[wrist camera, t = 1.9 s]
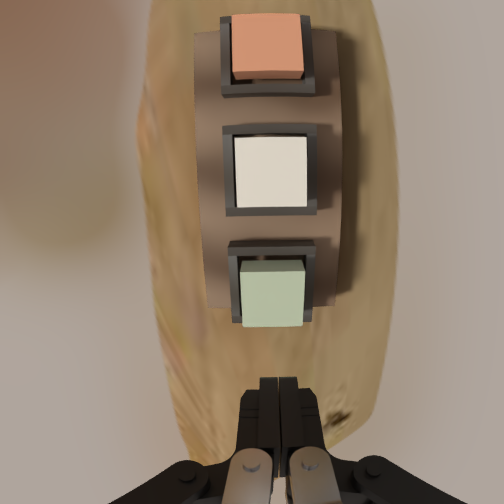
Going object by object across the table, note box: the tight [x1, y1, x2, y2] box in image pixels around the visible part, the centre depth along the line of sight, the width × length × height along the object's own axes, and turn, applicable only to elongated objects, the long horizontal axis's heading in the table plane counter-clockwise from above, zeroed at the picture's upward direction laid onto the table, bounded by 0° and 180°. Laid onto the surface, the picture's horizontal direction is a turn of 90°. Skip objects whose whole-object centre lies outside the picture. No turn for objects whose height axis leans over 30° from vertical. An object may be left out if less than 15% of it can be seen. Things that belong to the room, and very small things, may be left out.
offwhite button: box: [235, 137, 307, 207], centre depth 17 cm, size 4×4×2 cm
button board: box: [194, 15, 342, 323], centre depth 20 cm, size 22×10×4 cm, turn 2°
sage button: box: [240, 260, 305, 327], centre depth 20 cm, size 4×4×2 cm
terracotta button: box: [232, 13, 304, 80], centre depth 15 cm, size 4×4×2 cm
